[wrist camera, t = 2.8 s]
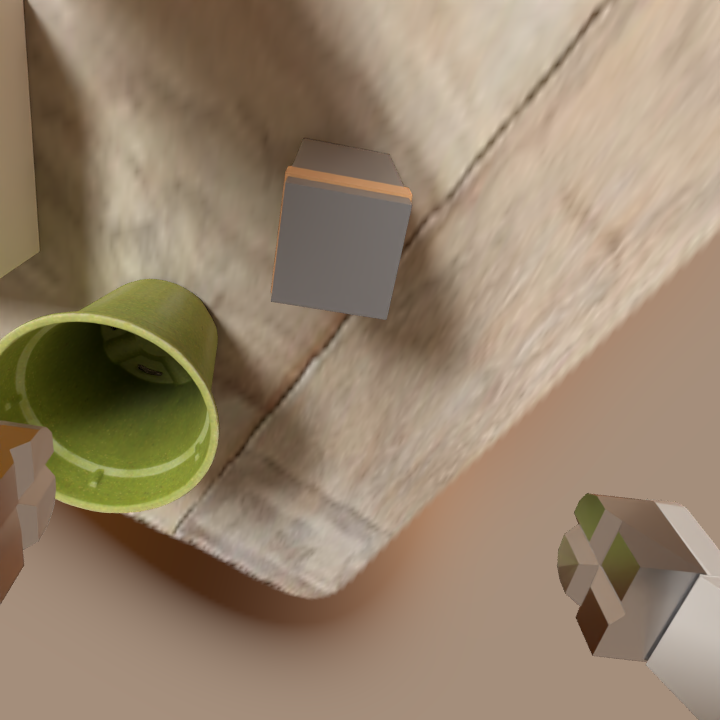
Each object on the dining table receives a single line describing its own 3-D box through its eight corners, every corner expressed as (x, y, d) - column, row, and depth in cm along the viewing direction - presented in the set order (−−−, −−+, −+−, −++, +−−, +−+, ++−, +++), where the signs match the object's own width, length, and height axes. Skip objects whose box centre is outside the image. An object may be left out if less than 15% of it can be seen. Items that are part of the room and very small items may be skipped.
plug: (391, 152, 28) (416, 202, 19) (374, 239, 29) (388, 323, 21) (301, 135, 27) (282, 178, 18) (290, 225, 29) (267, 303, 20)
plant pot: (55, 378, 33) (-33, 481, 25) (81, 218, 29) (-14, 281, 21) (223, 426, 34) (189, 535, 27) (269, 281, 30) (245, 360, 23)
